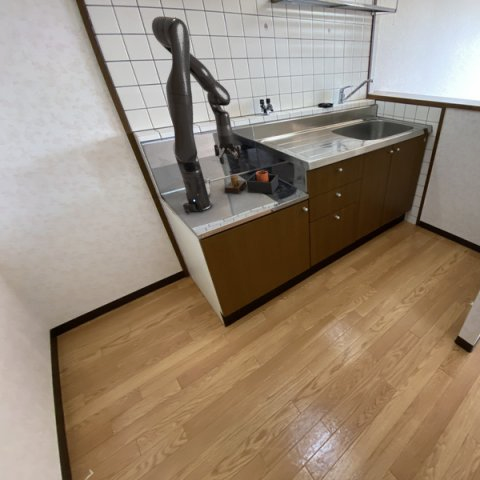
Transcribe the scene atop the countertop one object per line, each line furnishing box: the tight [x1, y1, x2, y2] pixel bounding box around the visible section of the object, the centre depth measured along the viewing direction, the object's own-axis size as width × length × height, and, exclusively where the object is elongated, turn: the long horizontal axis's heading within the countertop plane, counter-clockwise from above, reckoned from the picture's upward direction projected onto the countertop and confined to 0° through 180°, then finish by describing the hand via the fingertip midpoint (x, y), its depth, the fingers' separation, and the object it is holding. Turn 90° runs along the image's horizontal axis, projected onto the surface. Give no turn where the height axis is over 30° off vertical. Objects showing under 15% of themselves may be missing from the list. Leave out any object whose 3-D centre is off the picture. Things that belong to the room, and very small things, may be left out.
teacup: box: [204, 178, 212, 196], centre depth 146 cm, size 14×11×8 cm
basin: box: [245, 172, 280, 195], centre depth 153 cm, size 12×14×6 cm
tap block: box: [224, 179, 247, 194], centre depth 154 cm, size 11×8×3 cm
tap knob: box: [229, 174, 239, 185], centre depth 152 cm, size 4×4×5 cm
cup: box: [255, 170, 269, 182], centre depth 152 cm, size 6×6×9 cm
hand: (230, 164), depth 147 cm, fingers open, 8 cm apart
